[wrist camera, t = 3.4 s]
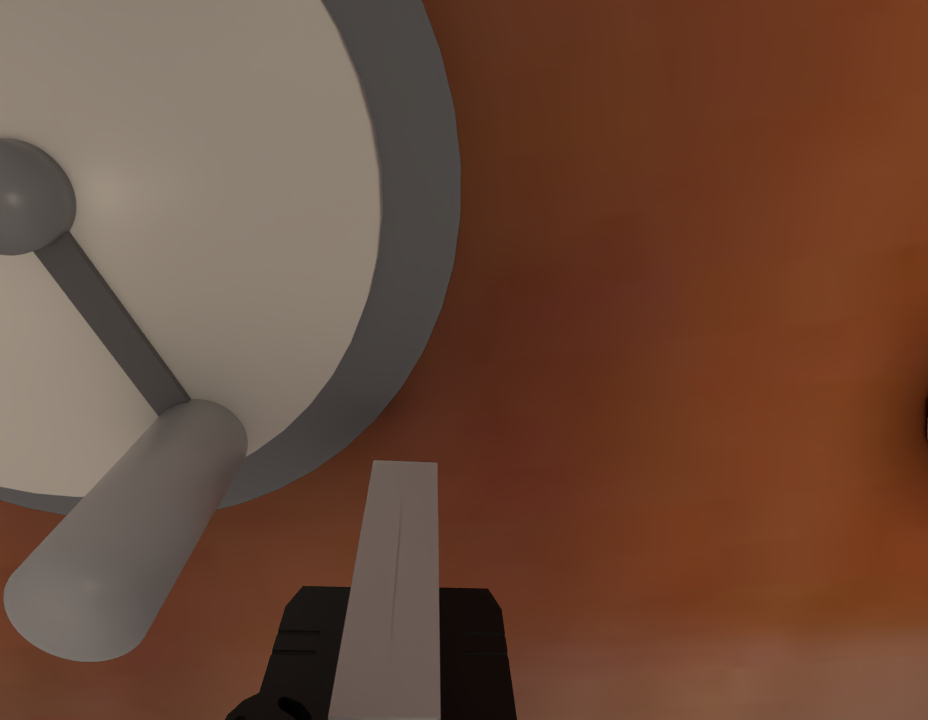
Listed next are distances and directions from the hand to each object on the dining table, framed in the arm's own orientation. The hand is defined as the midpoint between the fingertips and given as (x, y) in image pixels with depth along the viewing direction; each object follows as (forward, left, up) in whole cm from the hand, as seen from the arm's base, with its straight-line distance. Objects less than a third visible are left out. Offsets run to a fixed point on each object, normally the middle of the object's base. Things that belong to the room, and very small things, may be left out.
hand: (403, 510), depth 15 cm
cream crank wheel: (-6, -9, -4) cm, 12 cm away
